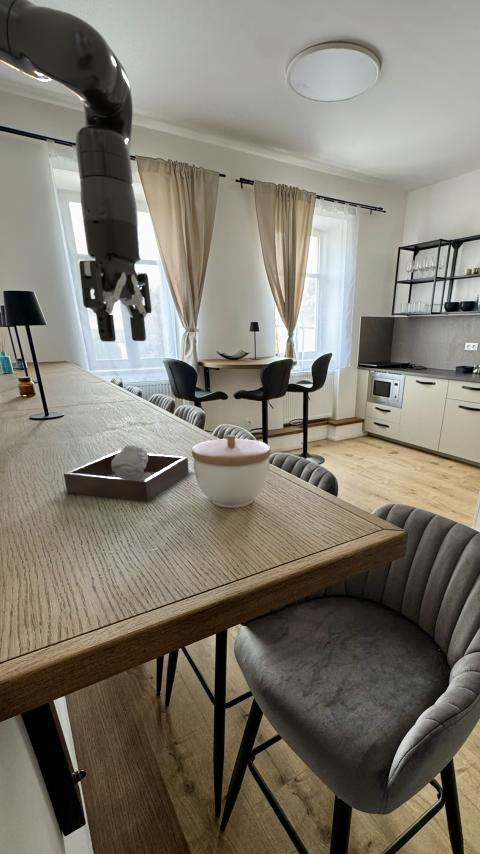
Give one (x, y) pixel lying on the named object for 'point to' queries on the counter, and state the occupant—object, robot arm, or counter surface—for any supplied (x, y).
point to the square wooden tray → (98, 484)
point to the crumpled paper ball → (130, 462)
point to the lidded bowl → (231, 470)
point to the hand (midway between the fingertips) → (124, 341)
